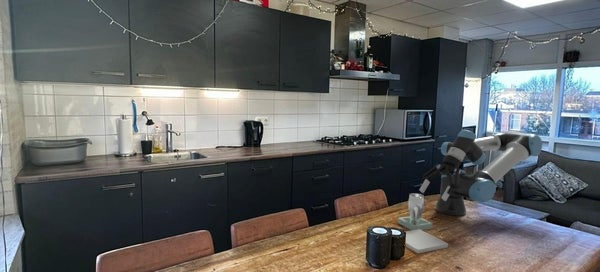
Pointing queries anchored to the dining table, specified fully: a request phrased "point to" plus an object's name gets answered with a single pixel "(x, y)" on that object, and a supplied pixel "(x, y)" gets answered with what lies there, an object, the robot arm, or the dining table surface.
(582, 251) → the dining table surface
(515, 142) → the robot arm
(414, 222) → the beer glass
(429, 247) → the tile board
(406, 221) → the green square frame
